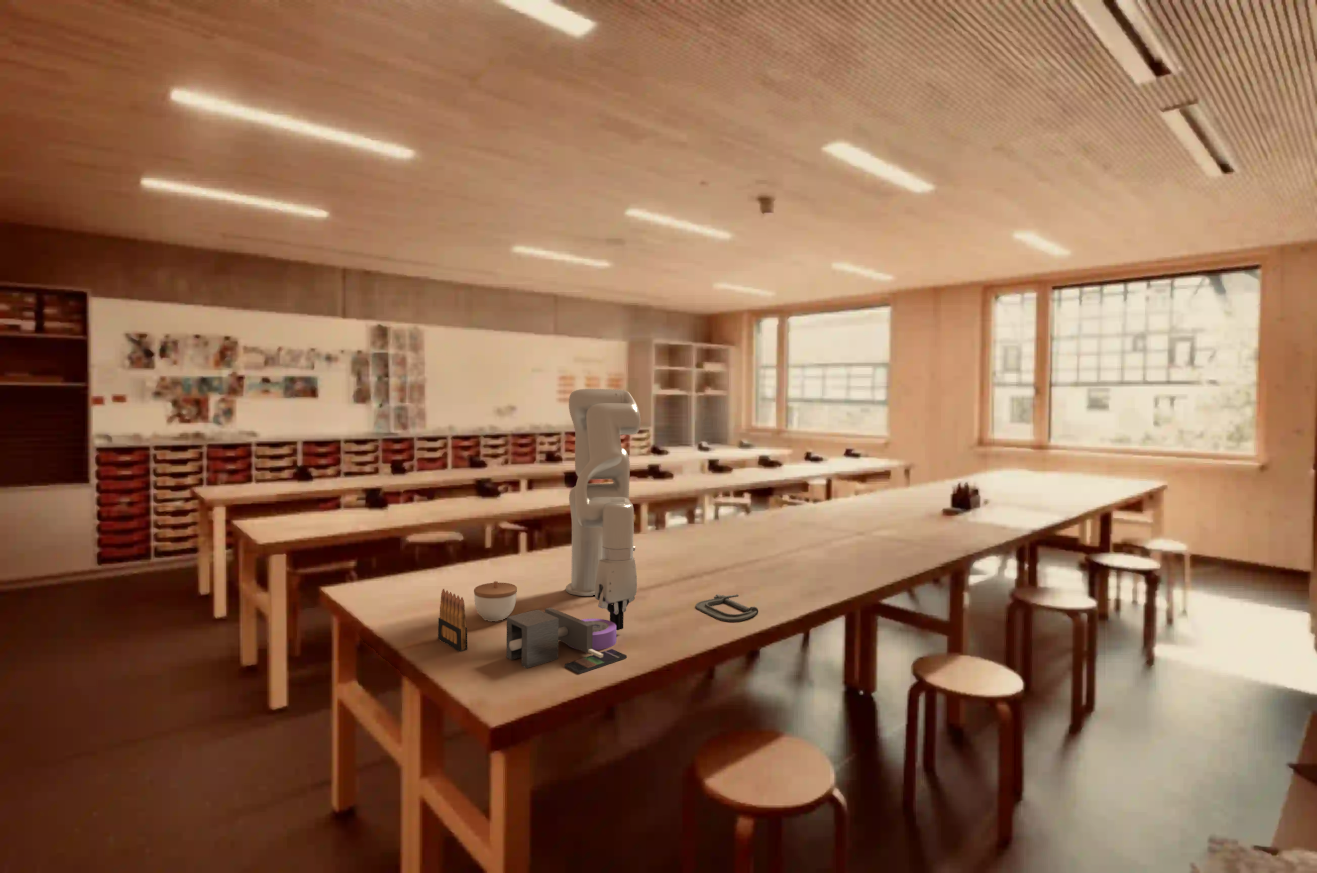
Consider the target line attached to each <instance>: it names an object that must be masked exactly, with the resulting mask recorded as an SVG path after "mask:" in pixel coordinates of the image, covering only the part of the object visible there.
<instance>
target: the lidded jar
mask: <svg viewBox="0 0 1317 873" xmlns="http://www.w3.org/2000/svg"><path fill="white" fill-rule="evenodd" d="M517 591H518V587H517V586H516V585H515V584H512V583H509V582H498V581H496V580H495V581H493V582H488V583H482V584H479V585H477V586H475V588H474V589H473V593H474V595H473V597H474V606H475V609H476V611H477V613H478V615H479V616H480V617H482V619H483V620H484V621H486V620H488V621H487V622H492V621H495V622H499V621H498V620H502V621H504V620H503V619H505V618H507V617H509V616H511V614H512V613H513V611H514V609H515V606H516V603H517ZM505 620H506V619H505Z"/></svg>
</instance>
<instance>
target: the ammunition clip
mask: <svg viewBox="0 0 1317 873" xmlns="http://www.w3.org/2000/svg"><path fill="white" fill-rule="evenodd" d="M464 600H465V599H464V597H463V596H461V598H460V596H459V595H457V596H456V593H452V592H451V591H450V592H449V591H448V590H445V588H442V589H441V594H440V604H439V617H438V621H437V623H438V624H437V625H438V626H437V630H438V632H437V639H438V640H439V641H440V640H441V641H440V642H442V643H444V644H445V645H448V646H449V647H451V648H452V649H454V650H456V651H457V652H461V653H462V652H464V651H468V627H467V625H466V622H467V619H466V618H467V616H466V609H465V608H466V607H465V601H464Z"/></svg>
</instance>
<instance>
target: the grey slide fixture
mask: <svg viewBox="0 0 1317 873" xmlns="http://www.w3.org/2000/svg"><path fill="white" fill-rule="evenodd" d="M558 625H559V618H557V617H554V616H552V615H550V614H547V613H545V611H542V610H540V609H535V610H534V609H533V610H530V611H526V612H521V613H518V614H514V615H509V616H508V617H507V619H506V654H505V655H506V658H507V659H508V660H511V661H513V660H516V659H520V658H521V667H523V668H524V669H530V668H533V667H536V666H537V667H538V666H539V665H543V664H546V663H550V662H552V661H555V660H558V659H559V640H558ZM521 638H522V648H520V649H517V650H513V651H511V650H510V648H509V642H510V641H513V640H517V639H521ZM600 653H602V654H603V657H601V658H600V657H597V656H595V655H593V654H591V655H588V656H585V657H582V658H578V659H575V660H573V661H569V662H567V663H565V664H564V667H565V668H567V669H569V670H571V671H573V672H575V673H576V674H578V675H580V674H583V673H586V672H589V671H592V670H595V669H598V668H600V667H601V668H602V667H604V666H607V665H610V664H613V663H616V662H619V661H622V660H625V659H627V657H628V656H627V654H624V653H622V652H620V651H617V650H615V649H612V648H611V649H608V650H605V651H602V652H601V651H600Z"/></svg>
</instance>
